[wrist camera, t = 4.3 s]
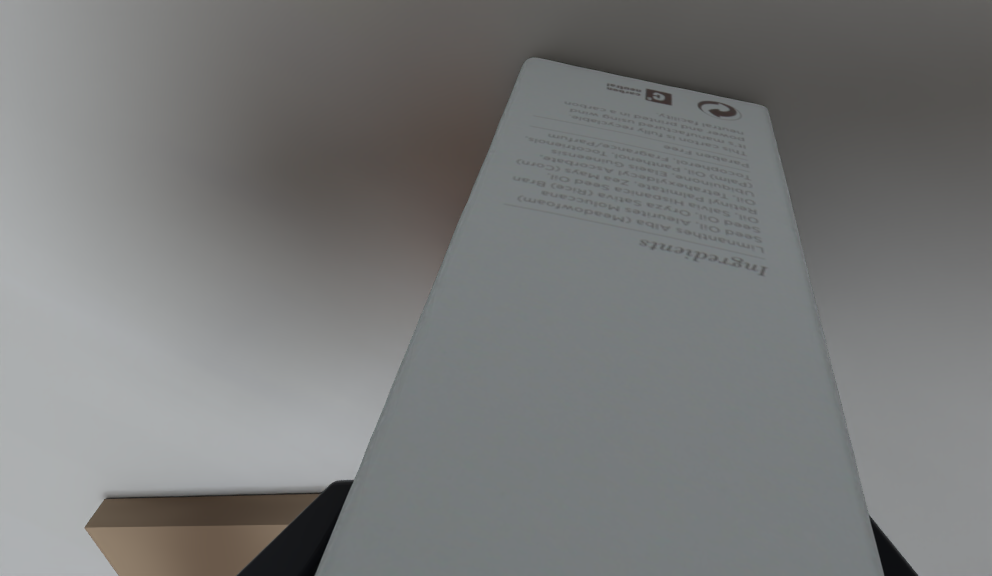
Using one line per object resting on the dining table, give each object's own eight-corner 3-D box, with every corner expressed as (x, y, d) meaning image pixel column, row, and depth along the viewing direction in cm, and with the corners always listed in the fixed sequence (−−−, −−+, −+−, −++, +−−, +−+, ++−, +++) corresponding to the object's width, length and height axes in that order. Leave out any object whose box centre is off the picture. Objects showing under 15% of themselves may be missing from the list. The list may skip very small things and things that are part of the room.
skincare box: (519, 47, 14) (180, 838, 4) (771, 98, 14) (1060, 1065, 4) (472, 325, 17) (230, 1105, 8) (671, 370, 17) (687, 1228, 7)
